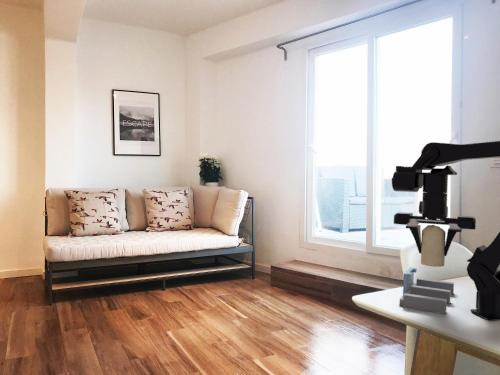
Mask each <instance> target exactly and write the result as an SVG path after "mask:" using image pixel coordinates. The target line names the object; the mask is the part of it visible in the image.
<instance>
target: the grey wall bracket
mask: <svg viewBox="0 0 500 375" xmlns="http://www.w3.org/2000/svg"><path fill="white" fill-rule="evenodd" d="M417 270H418V269H417V267H412V266H411V267H409V268H408V269H407V270H405V272H404V273H403V283H402V284H403V285H402V287H403V288H402V296H401V297H400V298H399V306H400V307H402V308H406V309H413V310H417V311H418V310H419V311H424V312H430V313H436V314H444V315H446V313H447V304H450V303H451V296H452V295H454V292H455V291H454V290H455V282H451V281H445V280H437V279H428V278H422V277H417V278H416V283H414V280H415V279H414V274H415V273H417V272H418V271H417ZM450 294H451V295H450Z"/></svg>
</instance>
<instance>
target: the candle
mask: <svg viewBox="0 0 500 375" xmlns="http://www.w3.org/2000/svg"><path fill="white" fill-rule="evenodd" d="M446 233H447V232H446V231H445V230H444V229H443V228H441V227H440V226H438V225H436V224H430V225H429V224H428V225H426V226H425V227H424V228H423V229H421V255H420V264H421V265H423V266H428V267H433V268H434V267H435V268H436V267H444V266H445V262H446V261H445V260H446V259H445V258H446V256H445V245H446V235H447V234H446Z"/></svg>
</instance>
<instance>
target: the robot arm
mask: <svg viewBox="0 0 500 375" xmlns="http://www.w3.org/2000/svg"><path fill="white" fill-rule="evenodd" d="M497 158H499V159H500V140H495V141H485V142H475V143H463V144H460V143H459V144H458V143H450V142H449V143H448V142H447V143H446V142H428V143H426V144H425V145H424V147H423V148H422V149H421V151H420V156H419V157H418V158H417V160H416V161H415V162H414V163H413V164H412V166H404V165H396V166H395V170H394V171H393V175H392V177H391V186H392V190H393V191H394V192H405V193H417V192H418V191H419V190H420V189H422V200H420V201H419V204H418V214H420V215H414V213H413V212H405V211H404V212H400V211H398V212H396V213H394V215H393V224H394V225H402V226H403V225H405V228H406V229H409V231H410V233H411V234H412V237H413V238H414V242H415V244H416V248H417V250H418V251H417V252H418V253H419V254H421V242H422V231H421V224H428V225H429V224H430V225H442V226H443V225H444V226H448V229H447V232H446V233H447V234H446V238H445V257H447V255H448V253H449V249H450V247H451V244H452V241H453V240H454V238H455V236H456V234H457V233H462V231H463V229H464V230H476V226H477V225H476V224H477V222H476V220H477V219H476V218H477V217H475V216H474V215H473V216H472V215H469V216H468V215H457V217H448V215H449V212H448V211H449V207H448V185H449V184H448V183H449V182H448V180H449V178H448V177H449V176H457V175H458V172H457V171H455V170H454V169H453V168H452V164H456V163H459V162H463V161H470V160H484V159H485V160H486V159H497ZM437 167H438V168H437ZM439 167H441V168H439ZM442 167H444V168H442ZM423 171H429V172H423ZM466 262H468V264H467V266H466V271H467V275H468V277H469V279H470V280H472V282H474V285H475V289H476V293H475V294H476V296H475V298H476V299H475V308H471V309H470V312H471V313H473V314H475V315H477V316H479V317H481V318H484V319H486V320H489V321H500V231H499V232H498V233H497V235H496V236H495V237H494V238H493V240H492V241H491V243H490V244H489V245H488V246H486V245H485V244H482V245H480V246H477V247H476V248H475V250H474V252H473V254H472V256H471V257H470V258H469V259H467V260H466Z"/></svg>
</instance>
